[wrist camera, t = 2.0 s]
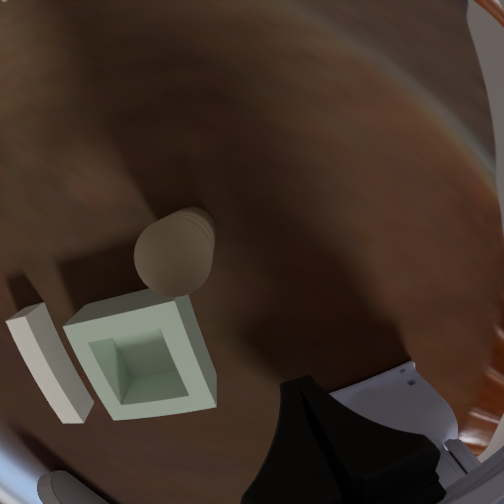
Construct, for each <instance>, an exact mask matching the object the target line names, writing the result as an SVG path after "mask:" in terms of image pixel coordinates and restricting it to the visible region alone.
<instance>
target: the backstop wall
mask: <svg viewBox="0 0 504 504" xmlns="http://www.w3.org/2000/svg"><path fill="white" fill-rule="evenodd" d="M6 323H7V325H8V327H9V329H10V332H11V334H12V336H13V338H14V340H15V342H16V345H17V347H18V349H19V351H20V353H21V355H22V357H23V359H24V360H25V362H26V364H27V366H28V368H29V370H30V372H31V373H32V375H33V377H34V379H35V380H36V382H37V384H38V386H39V387H40V389H41V391H42V392H43V394H44V395H45V397H46V399H47V400H48V402H49V403H50V405H51V406H52V408H53V409H54V411H55V412H56V414H57V415H58V417H59V418H60V420H61V421H62V423H84V422H85V420H86V418H87V416H88V414H89V412H90V410H91V408H92V406H93V404H94V401H93V399H92V398H91V396H90V394H89V393H88V391H87V389H86V387H85V386H84V384H83V382H82V381H81V379H80V377H79V375H78V373H77V371H76V370H75V368H74V366H73V364H72V362H71V360H70V358H69V356H68V354H67V352H66V350H65V348H64V346H63V344H62V342H61V340H60V338H59V336H58V333H57V331H56V329H55V327H54V324H53V322H52V320H51V317H50V315H49V313H48V310H47V308H46V305H45V303H44V302H43V303H39V304H35V305H32V306H28V307H25V308H23V309H22V310H21V311H19V312H18V313H16V314H15V315H14V316H12V317H11V318H9V319H8V320H7V321H6Z"/></svg>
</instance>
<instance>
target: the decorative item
mask: <svg viewBox="0 0 504 504" xmlns="http://www.w3.org/2000/svg"><path fill="white" fill-rule="evenodd" d="M37 492H38V495H39V498H40V500H41V501H42V503H43V504H110V503H108V502H107V501H105V500H104V499H102V498H101V497H100V496H98V495H97V494H96V493H94V492H93V491H92V490H90V489H89V488H88V487H86V486H85V485H84V484H82V483H81V482H80V481H79V480H78V479H76V478H75V477H74V476H72V475H71V474H69V473H68V472H66V471H61V470H57V471H54V472H51V473H48V474H45V475H42V476H41V477H40V479H39V480H38V484H37Z"/></svg>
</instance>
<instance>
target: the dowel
mask: <svg viewBox="0 0 504 504" xmlns="http://www.w3.org/2000/svg"><path fill="white" fill-rule="evenodd" d="M215 238H216V225H215V222H214V220H213V218H212V217H211V215H210V214H209V213H208V212H206V211H205V210H203V209H201V208H198V207H186V208H183V209H181V210H179V211H177V212H174V213H172V214H170V215H168V216H166V217H164V218H162V219H160V220H158V221H156V222H154V223H152V224H151V225H149V226H148V227H147V228H146V229H145V230H144V231H143V232H142V233H141V235H140V236H139V238H138V240H137V243H136V246H135V250H134V262H135V267H136V270H137V272H138V274H139V276H140V278H141V279H142V281H143V282H144V283H145V284H146V285H147V286H148V287H149V288H150V289H152V290H153V291H155V292H157V293H159V294H161V295H164V296H169V297H180V296H185V295H188V294H190V293H192V292H194V291H196V290H197V289H198V288H200V287H201V286H202V285H203V283H204V282H205V281H206V279H207V278H208V276H209V273H210V270H211V266H212V260H213V252H214V245H215Z"/></svg>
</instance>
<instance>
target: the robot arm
mask: <svg viewBox="0 0 504 504" xmlns="http://www.w3.org/2000/svg"><path fill="white" fill-rule="evenodd" d="M280 392H281V402H280V411H279V418H278V423H277V427H276V432H275V435H274V438H273V441H272V444H271V447H270V450H269V452H268V454H267V457H266V459H265V461H264V463H263V465H262V467H261V469H260V471H259V472H258V474H257V476H256V478H255V479H254V481H253V482H252V484H251V485H250V486H249V488H248V489H247V491H246V492H245V493H244V495H243V496H242V499H241V503H240V504H504V446H503V447H502V448H501V449H499V450H498V451H497V452H496V453H494V454H493V455H492V456H491V457H490V458H488V459H487V460H486V461H484V462H483V463H482V464H481V463H480V461H479V460H478V459H477V458H476V456H475V455H474V454H473V453H472V452H471V451H470V449H469V448H468V447H467V446H466V445H465V444H464V443H463V442H462V441H461V440H459V439H457V437H458V425H457V421H456V418H455V415H454V413H453V411H452V409H451V407H450V406H449V404H448V403H447V402H446V401H445V400H444V399H443V398H442V397H441V396H440V394H439V393H438V392H437V391H436V390H435V389H434V388H433V387H432V386H431V385H430V384H429V383H428V382H427V381H426V380H425V379H424V378H423V377H422V376H421V375H420V374H419V373H418V372H417V371H416V370H415V363H414V362H413V361H409V362H407V363H405V364H402V365H400V366H398V367H396V368H393V369H391V370H389V371H386V372H384V373H382V374H379V375H377V376H374V377H372V378H370V379H367V380H364V381H362V382H359V383H357V384H354V385H351V386H349V387H346V388H343V389H340V390H337V391H335V392H332V393H328V392H326V391H325V390H324V389H323V388H322V387H321V386H320V385H319V384H318V383H317V382H316V381H315V380H314V379H313V378H312V377H311V376H309V375H307V376H304V377H301V378H297V379H294V380H290V381H287V382H283V383H281V384H280ZM448 450H449V453H450V454H451V455H450V454H449V453H448ZM452 457H453V458H454V459H453V458H452Z"/></svg>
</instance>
